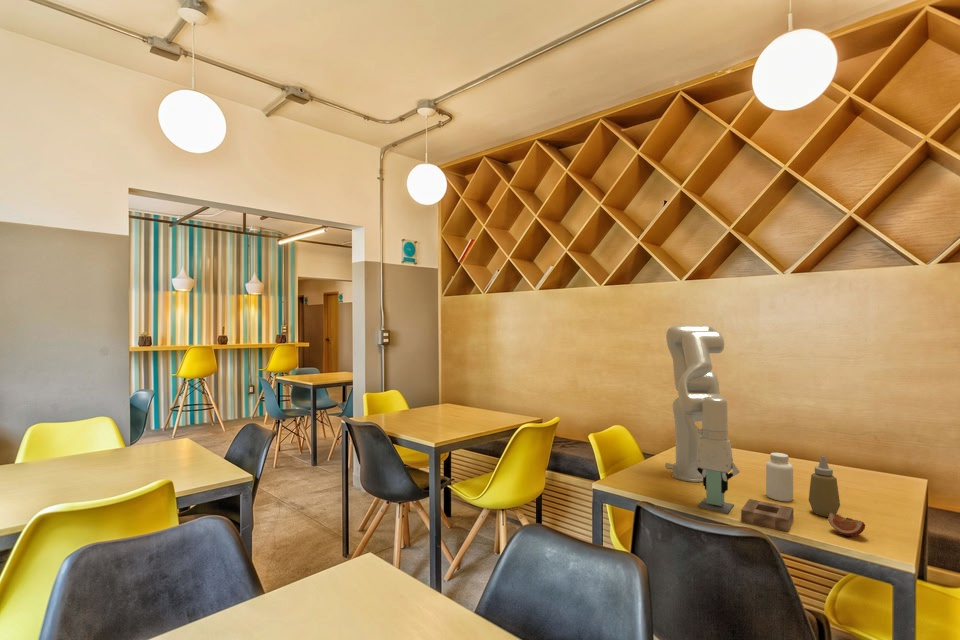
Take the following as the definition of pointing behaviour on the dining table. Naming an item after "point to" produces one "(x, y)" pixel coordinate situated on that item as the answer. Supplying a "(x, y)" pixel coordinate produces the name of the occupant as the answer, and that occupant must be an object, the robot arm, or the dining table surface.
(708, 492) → the teal block
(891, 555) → the dining table surface
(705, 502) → the rubber mat
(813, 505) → the squeeze bottle
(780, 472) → the pill bottle
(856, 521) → the fruit slice
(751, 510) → the pocket base
